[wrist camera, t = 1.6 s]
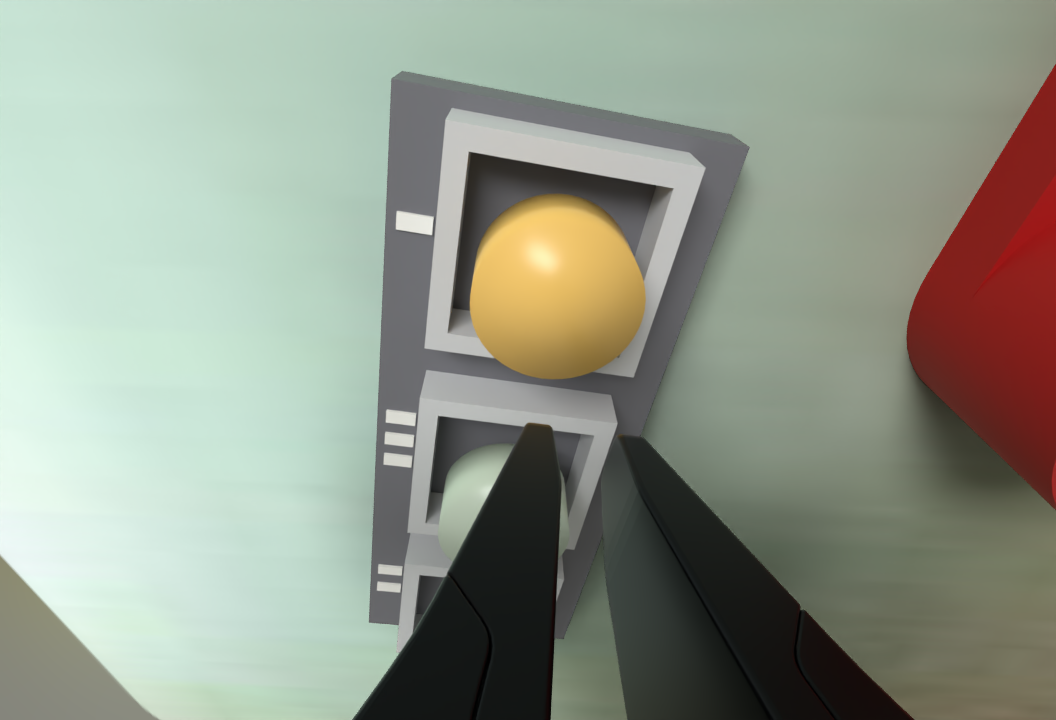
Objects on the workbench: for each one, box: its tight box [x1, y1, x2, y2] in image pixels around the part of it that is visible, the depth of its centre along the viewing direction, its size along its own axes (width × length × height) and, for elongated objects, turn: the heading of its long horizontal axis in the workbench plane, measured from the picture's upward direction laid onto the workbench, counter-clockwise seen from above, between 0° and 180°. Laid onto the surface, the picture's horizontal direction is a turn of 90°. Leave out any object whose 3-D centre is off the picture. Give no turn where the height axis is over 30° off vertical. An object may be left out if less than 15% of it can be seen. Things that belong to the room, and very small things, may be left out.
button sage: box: [438, 443, 569, 562], centre depth 18 cm, size 4×4×2 cm
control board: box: [369, 71, 750, 653], centre depth 20 cm, size 23×9×3 cm, turn 170°
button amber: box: [470, 194, 646, 379], centre depth 14 cm, size 4×4×2 cm
